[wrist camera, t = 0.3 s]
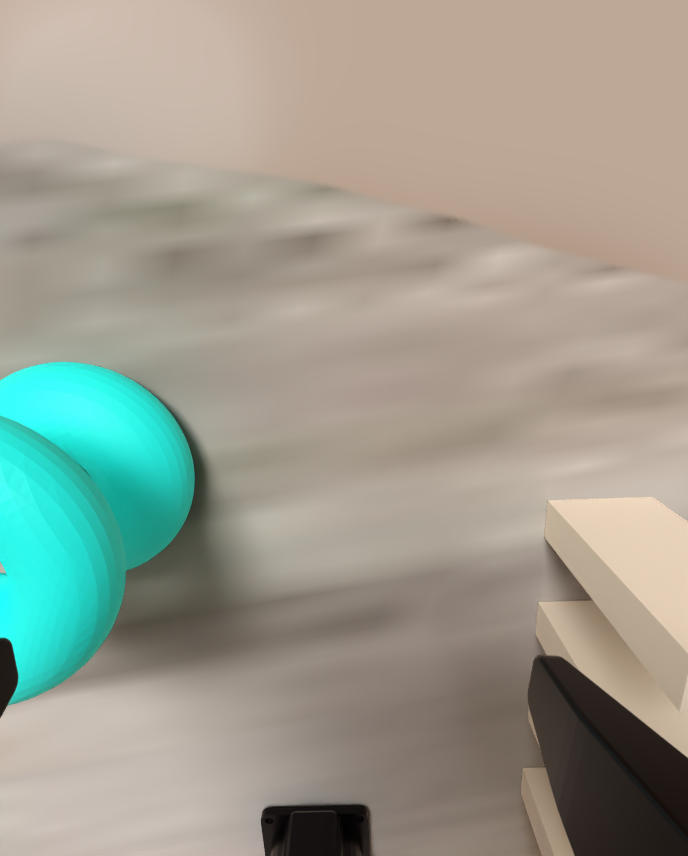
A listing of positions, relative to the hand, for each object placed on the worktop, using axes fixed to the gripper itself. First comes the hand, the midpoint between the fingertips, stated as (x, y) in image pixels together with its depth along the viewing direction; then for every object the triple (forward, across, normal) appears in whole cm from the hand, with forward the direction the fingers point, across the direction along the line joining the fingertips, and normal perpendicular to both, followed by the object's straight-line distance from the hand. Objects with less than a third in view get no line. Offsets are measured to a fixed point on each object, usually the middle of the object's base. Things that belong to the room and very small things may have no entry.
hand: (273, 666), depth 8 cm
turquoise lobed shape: (+15, +11, +2) cm, 18 cm away
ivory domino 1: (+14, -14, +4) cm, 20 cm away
